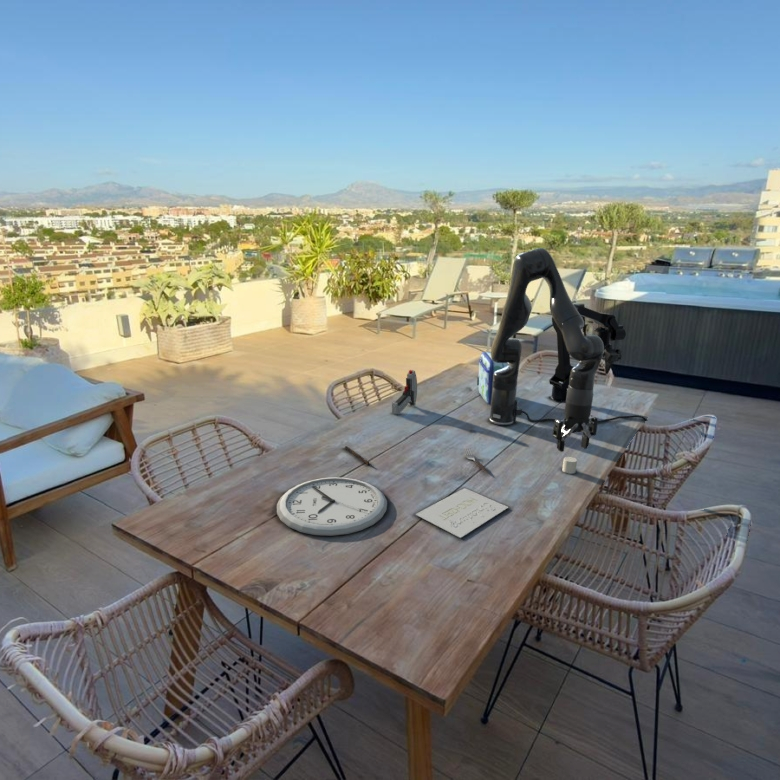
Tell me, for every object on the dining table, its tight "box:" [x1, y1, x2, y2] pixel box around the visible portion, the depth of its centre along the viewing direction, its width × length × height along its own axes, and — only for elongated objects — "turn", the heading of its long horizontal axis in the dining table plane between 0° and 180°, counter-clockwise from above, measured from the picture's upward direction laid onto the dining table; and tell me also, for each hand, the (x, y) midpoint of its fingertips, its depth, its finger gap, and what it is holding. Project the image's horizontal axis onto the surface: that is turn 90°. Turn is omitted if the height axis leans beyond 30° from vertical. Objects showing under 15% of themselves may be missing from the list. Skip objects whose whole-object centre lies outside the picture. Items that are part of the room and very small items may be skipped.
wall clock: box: [276, 476, 388, 537], centre depth 142 cm, size 30×2×30 cm
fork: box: [463, 448, 488, 474], centre depth 169 cm, size 3×16×2 cm, turn 15°
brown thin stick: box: [344, 445, 370, 465], centre depth 173 cm, size 15×1×1 cm, turn 34°
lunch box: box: [476, 351, 509, 406], centre depth 230 cm, size 26×11×21 cm, turn 179°
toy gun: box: [391, 369, 418, 415], centre depth 216 cm, size 2×16×15 cm
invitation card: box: [414, 487, 509, 539], centre depth 141 cm, size 21×1×15 cm
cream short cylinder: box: [561, 456, 578, 475], centre depth 165 cm, size 4×4×4 cm
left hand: (572, 449), depth 164 cm, fingers open, 8 cm apart
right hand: (598, 374), depth 241 cm, fingers open, 9 cm apart
